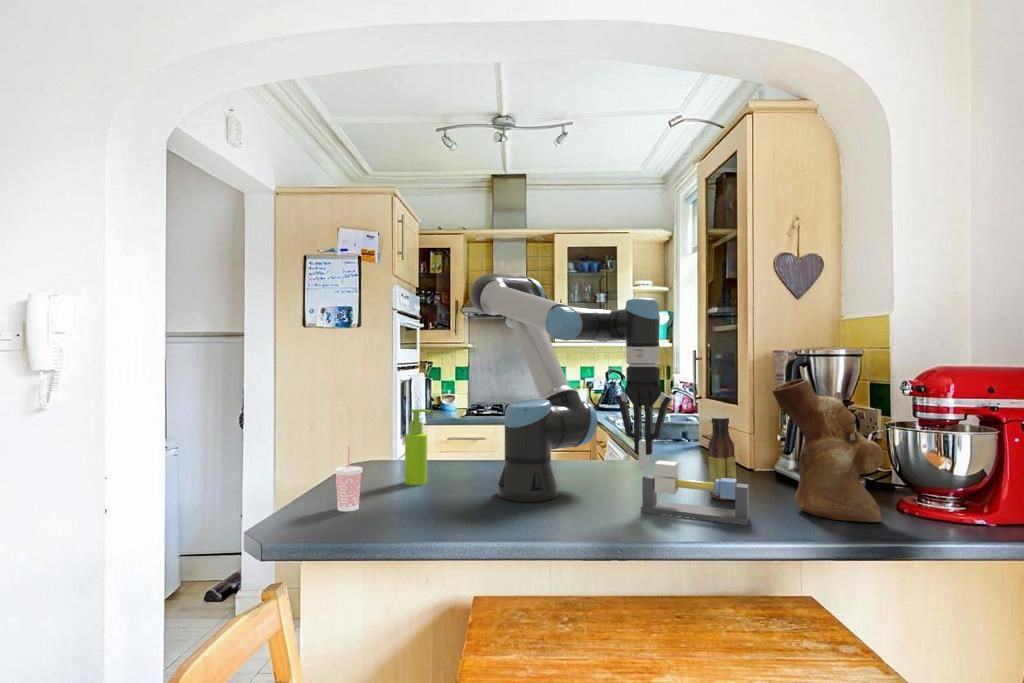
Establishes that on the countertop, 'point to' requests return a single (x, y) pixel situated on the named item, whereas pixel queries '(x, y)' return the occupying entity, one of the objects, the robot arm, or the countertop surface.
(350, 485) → the beverage cup
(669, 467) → the sleeve
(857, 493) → the ceramic vessel
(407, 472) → the soap dispenser
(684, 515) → the twin post rod stand
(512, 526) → the countertop surface
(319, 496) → the countertop surface
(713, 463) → the sauce bottle
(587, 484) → the countertop surface
